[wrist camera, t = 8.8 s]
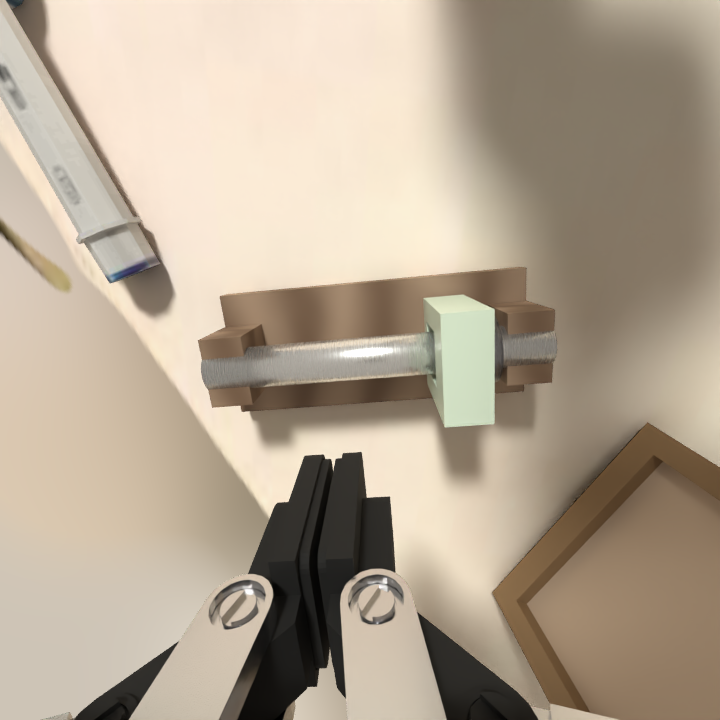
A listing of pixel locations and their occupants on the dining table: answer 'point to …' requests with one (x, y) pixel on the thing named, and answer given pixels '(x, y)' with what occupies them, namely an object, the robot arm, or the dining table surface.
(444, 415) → the sage collar
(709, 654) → the photo frame
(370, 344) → the steel pipe
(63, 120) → the grey handheld flashlight
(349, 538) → the robot arm
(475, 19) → the dining table surface
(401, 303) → the walnut base
